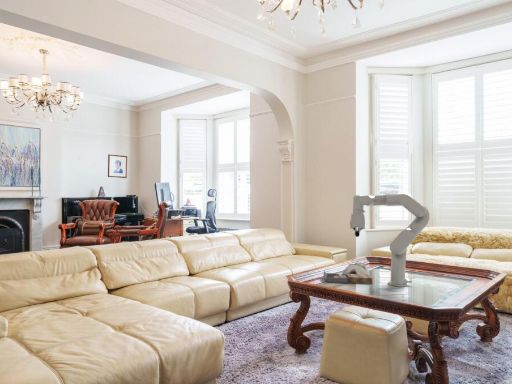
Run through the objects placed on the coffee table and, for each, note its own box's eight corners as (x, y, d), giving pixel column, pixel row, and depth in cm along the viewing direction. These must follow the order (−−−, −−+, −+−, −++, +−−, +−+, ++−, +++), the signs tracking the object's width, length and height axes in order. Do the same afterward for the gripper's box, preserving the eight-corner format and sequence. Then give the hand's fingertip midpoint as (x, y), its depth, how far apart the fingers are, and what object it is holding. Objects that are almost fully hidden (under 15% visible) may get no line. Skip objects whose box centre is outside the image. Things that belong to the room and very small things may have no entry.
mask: (373, 260, 312) (365, 266, 285) (372, 271, 312) (365, 278, 285) (348, 257, 321) (339, 263, 294) (348, 268, 321) (339, 275, 294)
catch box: (343, 278, 279) (344, 271, 279) (348, 283, 265) (348, 275, 265) (323, 277, 280) (323, 270, 280) (326, 282, 266) (326, 275, 266)
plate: (367, 280, 278) (367, 274, 278) (372, 283, 266) (372, 278, 266) (345, 279, 278) (345, 273, 278) (349, 282, 266) (349, 277, 266)
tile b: (333, 276, 275) (333, 278, 275) (335, 277, 269) (335, 280, 269) (339, 276, 275) (339, 279, 275) (341, 278, 269) (341, 280, 269)
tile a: (340, 272, 275) (338, 274, 275) (341, 274, 269) (339, 276, 269) (344, 276, 275) (342, 278, 275) (346, 278, 269) (344, 280, 269)
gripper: (366, 212, 285) (365, 236, 285) (346, 211, 285) (345, 235, 285) (369, 212, 277) (368, 237, 277) (349, 211, 278) (348, 236, 278)
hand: (357, 236), depth 281 cm, fingers closed
